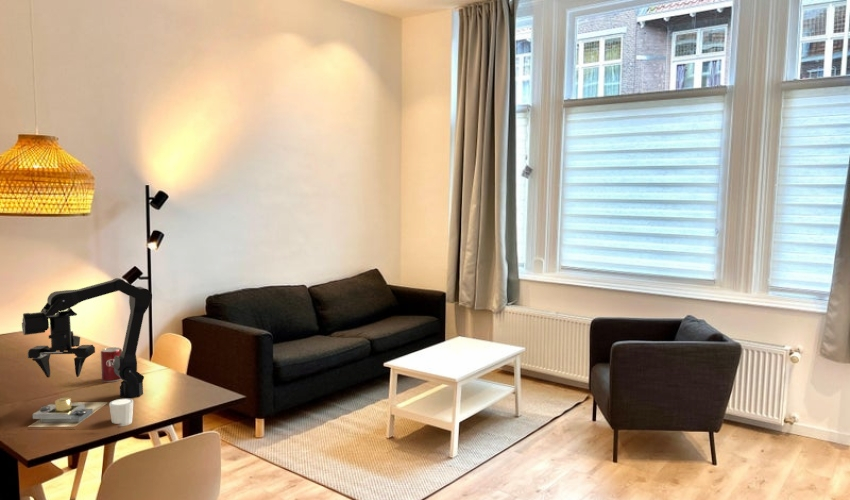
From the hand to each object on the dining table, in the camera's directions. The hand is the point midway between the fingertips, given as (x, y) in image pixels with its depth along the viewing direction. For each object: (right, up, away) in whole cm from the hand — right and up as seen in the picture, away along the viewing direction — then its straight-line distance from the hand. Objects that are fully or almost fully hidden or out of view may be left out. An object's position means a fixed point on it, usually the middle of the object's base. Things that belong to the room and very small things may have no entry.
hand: (63, 376), depth 202 cm
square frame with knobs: (+5, -13, -7) cm, 15 cm away
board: (+4, -12, -3) cm, 13 cm away
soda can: (-2, -9, +36) cm, 37 cm away
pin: (+5, -12, -7) cm, 15 cm away
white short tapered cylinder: (+24, -13, -9) cm, 28 cm away
